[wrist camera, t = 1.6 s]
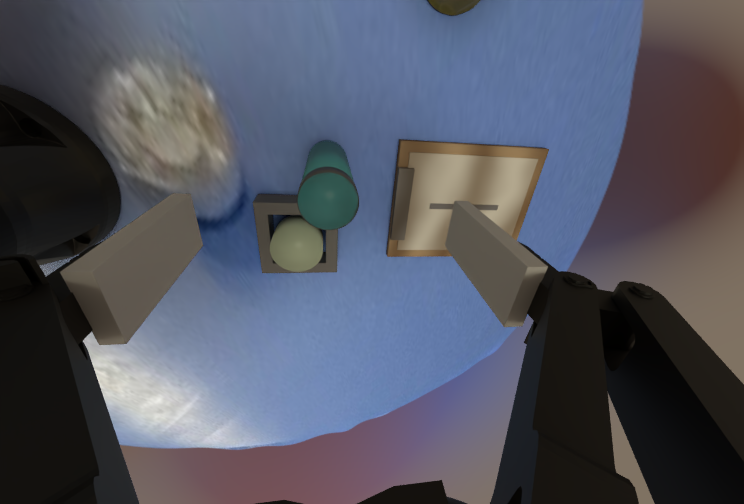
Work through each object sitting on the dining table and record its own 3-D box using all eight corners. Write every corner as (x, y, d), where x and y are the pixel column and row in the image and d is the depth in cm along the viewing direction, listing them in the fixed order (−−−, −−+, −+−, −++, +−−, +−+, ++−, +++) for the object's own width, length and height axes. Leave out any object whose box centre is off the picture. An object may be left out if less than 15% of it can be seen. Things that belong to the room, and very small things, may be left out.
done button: (276, 257, 31) (272, 272, 29) (272, 214, 29) (267, 226, 27) (323, 257, 32) (323, 271, 30) (322, 215, 30) (322, 227, 27)
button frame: (266, 261, 33) (262, 273, 31) (258, 193, 30) (252, 202, 27) (336, 260, 35) (336, 272, 33) (337, 196, 31) (338, 204, 29)
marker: (309, 174, 29) (298, 230, 18) (307, 135, 27) (295, 170, 16) (346, 176, 30) (357, 230, 19) (347, 137, 28) (360, 173, 17)
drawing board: (386, 253, 35) (388, 259, 34) (399, 139, 29) (402, 141, 28) (507, 252, 38) (513, 258, 36) (544, 147, 31) (552, 150, 30)
